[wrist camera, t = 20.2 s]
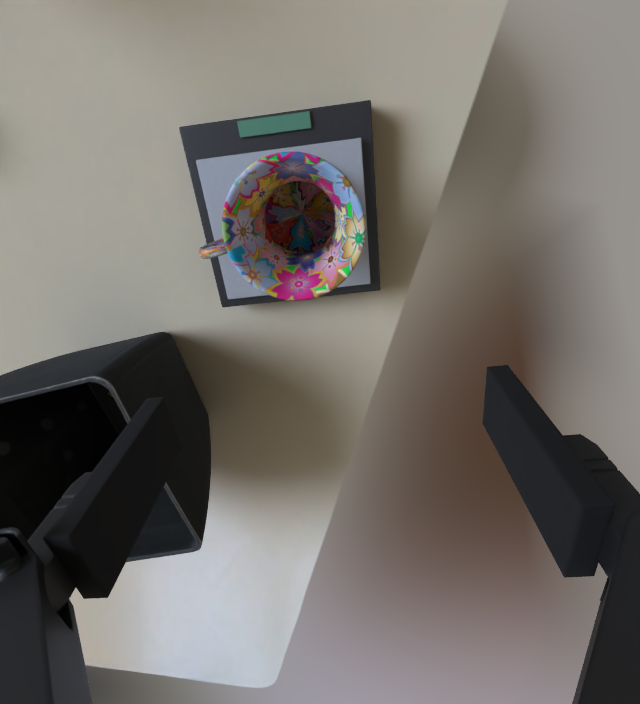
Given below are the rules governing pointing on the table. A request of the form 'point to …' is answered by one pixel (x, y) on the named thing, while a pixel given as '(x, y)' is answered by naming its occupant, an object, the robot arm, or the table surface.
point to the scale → (273, 137)
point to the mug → (291, 226)
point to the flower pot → (102, 436)
